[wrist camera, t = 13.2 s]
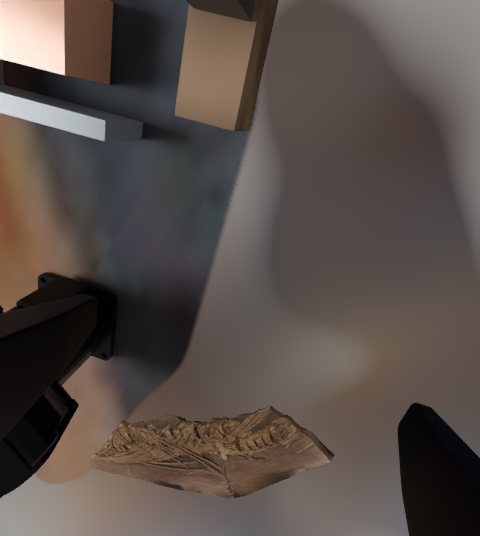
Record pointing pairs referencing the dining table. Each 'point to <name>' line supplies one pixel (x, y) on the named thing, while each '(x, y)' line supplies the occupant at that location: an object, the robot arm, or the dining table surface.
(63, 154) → the dining table surface
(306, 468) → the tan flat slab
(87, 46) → the block
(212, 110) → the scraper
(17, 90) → the box
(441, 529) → the robot arm
